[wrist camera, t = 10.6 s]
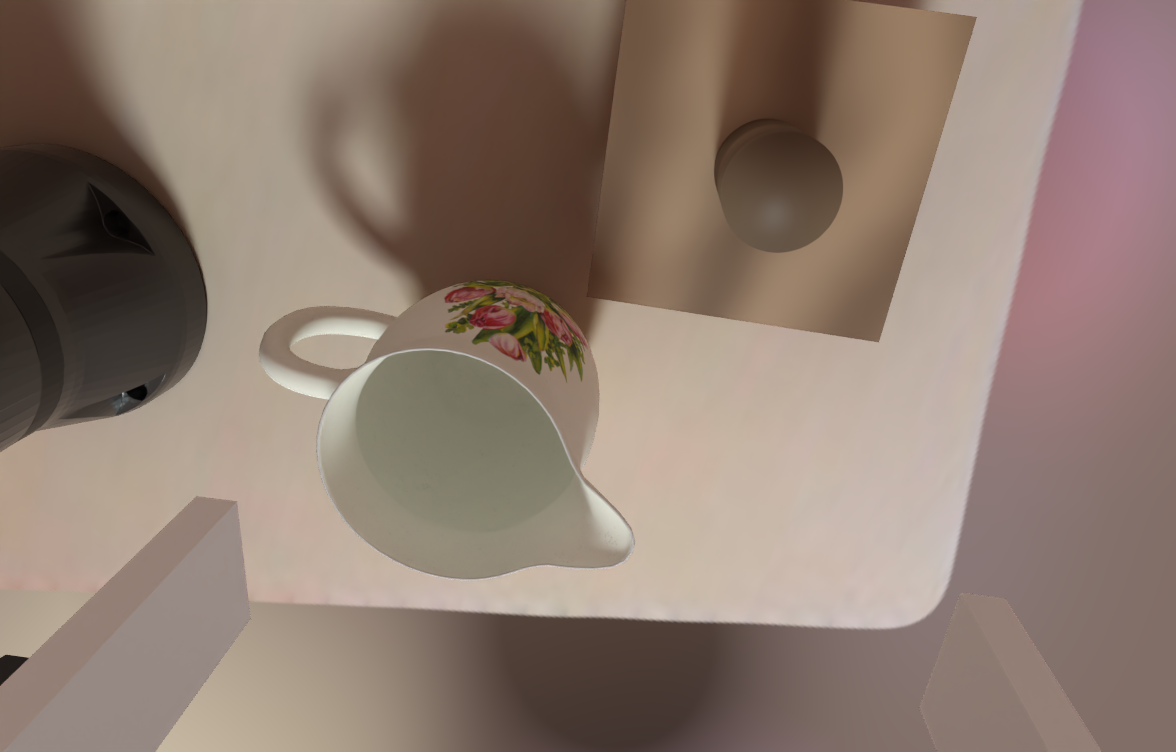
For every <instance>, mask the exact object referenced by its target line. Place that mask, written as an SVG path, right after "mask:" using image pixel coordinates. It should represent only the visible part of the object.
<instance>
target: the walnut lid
mask: <svg viewBox="0 0 1176 752" xmlns="http://www.w3.org/2000/svg"><path fill="white" fill-rule="evenodd" d="M976 18H977V17H972V16H965V15H957V14H950V13H942V12H935V11H927V10H920V9H912V8H905V7H897V6H890V5H882V4H875V3H867V2H860V1H852V0H626V4H625V12H624V19H623V27H622V34H621V42H620V50H619V57H618V65H617V72H616V80H615V87H614V95H613V102H612V110H611V118H610V125H609V133H608V140H607V148H606V155H605V163H604V171H603V178H602V186H601V193H600V201H599V208H598V216H597V224H596V231H595V239H594V246H593V254H592V261H591V269H590V277H589V284H588V292H587V297H593V298H599V299H606V300H612V301H618V302H625V303H631V304H638V305H644V306H650V307H657V308H663V309H670V310H676V311H682V312H689V313H695V314H702V315H708V316H714V317H721V318H727V319H734V320H740V321H746V322H753V323H759V324H766V325H772V326H778V327H785V328H791V329H798V330H804V331H810V332H817V333H823V334H830V335H836V336H842V337H849V338H855V339H862V340H868V341H874V342H879V340H880V336H881V333H882V330H883V326H884V323H885V320H886V316H887V313H888V310H889V307H890V303H891V300H892V297H893V293H894V290H895V287H896V283H897V280H898V277H899V273H900V270H901V267H902V263H903V260H904V257H905V253H906V250H907V247H908V244H909V240H910V237H911V234H912V230H913V227H914V224H915V220H916V217H917V214H918V210H919V207H920V204H921V200H922V197H923V194H924V190H925V187H926V184H927V181H928V177H929V174H930V171H931V167H932V164H933V161H934V157H935V154H936V151H937V147H938V144H939V141H940V137H941V134H942V131H943V127H944V124H945V121H946V118H947V114H948V111H949V108H950V104H951V101H952V98H953V94H954V91H955V88H956V84H957V81H958V78H959V74H960V71H961V68H962V64H963V61H964V58H965V54H966V51H967V48H968V45H969V41H970V38H971V35H972V31H973V28H974V25H975V21H976Z"/></svg>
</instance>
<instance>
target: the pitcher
mask: <svg viewBox="0 0 1176 752" xmlns="http://www.w3.org/2000/svg"><path fill="white" fill-rule="evenodd" d="M321 334H342V335H354V336H362V337H368V338H373V339H377V342H376V343H375V345H374V346H373V348H372V350H371V352H370V354H369V356H368V358H367V360H366V362H365V363H364V364H363V365H361V366H360V367H358V368H351V369H342V370H340V369H333V368H328V367H324V366H319V365H316V364H313V363H310V362H308V361H305V360H303V359H301V358H299V357H298V356H296V355H295V354H294V353H293V352H291V351H290V347H291V346H292V345H293V344H294V343H295V342H297V341H299V340H301V339H304V338H306V337H310V336H314V335H321ZM259 358H260V363H261V365H262V367H263V368H264V370H265V372H266V373H267V374H268V375H269V376H270V377H271V378H272V379H273V380H274V381H275V382H277V383H278V384H280V385H282V386H283V387H285V388H288V389H290V390H293V391H295V392H298V393H301V394H304V395H308V396H312V397H317V398H322V399H328V402H327V404H326V406H325V408H324V410H323V413H322V416H321V419H320V422H319V427H318V433H317V450H316V452H317V460H318V467H319V471H320V475H321V479H322V482H323V485H324V487H325V490H326V492H327V495H328V497H329V498H330V500H331V502H332V504H333V506H334V507H335V509H336V510H337V512H338V513H339V515H340V516H341V517H342V519H343V520H344V522H345V523H346V524H347V525H348V526H349V527H350V528H351V529H352V530H353V532H354V533H355V534H356V535H358V536H359V537H360V538H361V539H362V540H363V541H364V542H365V543H367V544H368V545H369V546H371V547H372V548H373V549H375V550H376V551H377V552H379V553H380V554H382V555H384V556H385V557H387V558H389V559H391V560H392V561H394V562H396V563H398V564H401V565H403V566H405V567H407V568H409V569H412V570H415V571H418V572H421V573H424V574H427V575H431V576H435V577H439V578H446V579H453V580H469V581H471V580H486V579H491V578H497V577H501V576H505V575H508V574H511V573H515V572H518V571H521V570H525V569H529V568H534V567H541V566H553V567H560V568H570V569H594V570H595V569H604V568H613V567H615V566H617V565H620V564H622V563H624V562H626V560H627V559H628V558H629V556H630V555H631V554H632V552H633V548H634V544H635V540H634V537H633V533H632V529H631V527H630V526H629V524H628V523H627V522H626V520H625V519H624V518H623V516H622V515H621V514H620V512H619V511H618V510H617V509H616V508H615V507H614V506H613V505H612V504H611V503H610V502H609V501H608V500H607V499H606V498H605V497H604V496H603V495H602V494H601V493H600V492H599V491H598V490H597V489H596V488H595V487H594V486H593V485H592V484H591V483H590V482H589V481H587V480H586V479H585V478H584V476H583V474H582V472H581V470H582V469H583V467H584V465H585V463H586V460H587V458H588V455H589V452H590V449H591V446H592V443H593V440H594V437H595V432H596V426H597V421H598V415H599V395H600V394H599V383H598V374H597V370H596V365H595V361H594V358H593V355H592V353H591V350H590V348H589V345H588V342H587V341H586V339H585V337H584V335H583V333H582V331H581V330H580V328H579V327H578V326H577V324H576V323H575V322H574V320H573V319H572V318H571V316H570V315H569V314H568V313H567V312H566V311H565V310H564V309H563V308H562V307H561V306H559V305H558V304H557V303H556V302H555V301H553V300H552V299H550V298H549V297H547V296H546V295H544V294H543V293H540V292H538V291H536V290H534V289H532V288H530V287H527V286H524V285H521V284H517V283H512V282H507V281H497V280H481V281H471V282H466V283H461V284H456V285H453V286H450V287H447V288H444V289H442V290H439V291H437V292H435V293H433V294H431V295H429V296H427V297H425V298H423V299H422V300H420V301H418V302H417V303H415V304H414V305H413V306H411V307H410V308H408V309H407V310H406V311H404V312H403V313H402V314H401V315H400V316H399V317H398V318H397V317H394V316H390V315H386V314H383V313H378V312H374V311H370V310H364V309H358V308H349V307H336V306H320V307H309V308H305V309H301V310H297V311H294V312H292V313H290V314H288V315H285V316H284V317H282V318H281V319H279V320H278V321H277V322H275V323H274V324H273V325H271V326H270V327H269V329H268V330H267V331H266V332H265V333H264V336H263V339H262V342H261V345H260V349H259Z"/></svg>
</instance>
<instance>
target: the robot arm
mask: <svg viewBox="0 0 1176 752" xmlns="http://www.w3.org/2000/svg"><path fill="white" fill-rule="evenodd" d="M205 327H206V299H205V292H204V286H203V282H202V278H201V274H200V271H199V268H198V265H197V263H196V260H195V258H194V255H193V253H192V251H191V249H190V247H189V245H188V243H187V241H186V239H185V237H184V236H183V234H182V232H181V231H180V229H179V228H178V226H177V225H176V223H175V222H174V220H173V219H172V218H171V216H170V215H169V214H168V213H167V211H166V210H165V209H164V208H163V207H162V205H161V204H160V203H159V202H158V201H157V200H156V199H155V198H154V197H153V196H152V195H151V194H150V193H149V192H148V191H147V190H146V189H145V188H144V187H142V186H141V185H140V184H139V183H138V182H136V181H135V180H134V179H133V178H131V177H130V176H129V175H127V174H126V173H124V172H123V171H121V170H120V169H118V168H116V167H115V166H113V165H111V164H110V163H108V162H106V161H104V160H102V159H100V158H98V157H95V156H93V155H91V154H88V153H85V152H83V151H80V150H76V149H73V148H69V147H64V146H59V145H52V144H26V145H19V146H11V147H4V148H0V452H1V451H3V450H4V449H6V448H7V447H9V446H10V445H12V444H14V443H16V442H17V441H19V440H21V439H23V438H24V437H26V436H28V435H30V434H31V433H33V432H35V431H39V430H45V429H50V428H55V427H61V426H66V425H72V424H77V423H82V422H88V421H93V420H98V419H104V418H109V417H114V416H118V415H121V414H125V413H128V412H130V411H133V410H135V409H137V408H139V407H141V406H143V405H145V404H147V403H148V402H150V401H152V400H153V399H155V398H156V397H158V396H159V395H161V394H162V393H164V392H166V391H167V390H169V389H170V388H171V387H173V386H174V385H175V384H177V383H178V382H179V381H180V380H181V379H182V378H183V377H184V376H185V375H186V373H187V372H188V371H189V370H190V368H191V366H192V365H193V363H194V362H195V360H196V358H197V356H198V353H199V351H200V349H201V345H202V342H203V338H204V334H205ZM249 620H250V610H249V601H248V592H247V584H246V575H245V567H244V558H243V549H242V541H241V532H240V523H239V515H238V506H237V501H230V500H222V499H214V498H206V497H198V496H196V497H195V498H194V499H193V500H192V501H191V502H190V503H189V504H188V505H187V506H186V507H185V508H184V509H183V510H182V511H181V512H180V513H179V514H178V515H177V516H176V517H175V518H174V519H173V520H171V521H170V522H169V523H168V524H167V525H166V526H165V527H164V528H163V529H162V530H161V531H160V532H159V533H158V534H157V535H156V536H155V537H154V538H153V539H152V540H151V541H150V542H149V543H148V544H147V545H146V546H145V547H144V548H143V549H141V550H140V551H139V552H138V553H137V554H136V555H135V556H134V557H133V558H132V559H131V560H130V561H129V562H128V563H127V564H126V565H125V566H124V567H123V568H122V569H121V570H120V571H119V572H118V573H117V574H116V575H115V576H114V577H112V578H111V579H110V580H109V581H108V582H107V583H106V584H105V585H104V586H103V587H102V588H101V589H100V590H99V591H98V592H97V593H96V594H95V595H94V596H93V597H92V598H91V599H90V600H89V601H88V602H87V603H86V604H85V605H84V606H83V607H81V609H79V610H78V611H77V612H76V614H74V615H73V616H72V617H71V618H70V619H69V620H68V621H67V622H66V623H65V624H64V625H63V626H62V627H61V628H60V629H59V630H58V631H57V632H56V633H55V634H54V635H53V636H52V637H50V638H49V639H48V641H46V642H45V643H44V644H43V645H42V646H41V647H40V648H39V649H38V650H37V651H36V652H35V653H34V654H33V655H32V656H31V657H30V658H26V657H18V656H11V655H5V656H3V657H1V658H0V752H155V751H156V750H157V749H158V747H159V745H160V744H161V743H162V742H163V740H164V739H165V737H166V736H167V735H168V733H169V732H170V730H171V729H172V728H173V726H174V725H175V723H176V722H177V721H178V719H179V718H180V716H181V715H182V714H183V712H184V711H185V709H186V708H187V707H188V705H189V704H190V703H191V701H192V700H193V698H194V697H195V696H196V694H197V693H198V691H199V690H200V688H201V687H202V686H203V684H204V683H205V682H206V680H207V679H208V677H209V676H210V675H211V673H212V672H213V670H214V669H215V668H216V666H217V665H218V663H219V662H220V661H221V659H222V658H223V656H224V655H225V654H226V652H227V651H228V650H229V648H230V647H231V645H232V644H233V643H234V641H235V640H236V638H237V637H238V635H239V634H240V633H241V631H242V630H243V628H244V627H245V626H246V624H247V623H248V622H249ZM919 708H920V710H921V713H922V716H923V718H924V721H925V723H926V726H927V728H928V731H929V733H930V736H931V738H932V741H933V743H934V746H935V749H936V751H937V752H1102V751H1101V750H1100V748H1099V747H1098V745H1097V743H1096V742H1095V740H1094V739H1093V737H1092V736H1091V734H1090V732H1089V731H1088V729H1087V728H1086V726H1085V724H1084V723H1083V721H1082V720H1081V718H1080V717H1079V715H1078V713H1077V712H1076V710H1075V709H1074V707H1073V705H1072V704H1071V702H1070V701H1069V699H1068V698H1067V696H1066V694H1065V693H1064V691H1063V690H1062V688H1061V686H1060V685H1059V683H1058V682H1057V680H1056V678H1055V677H1054V675H1053V674H1052V672H1051V671H1050V669H1049V667H1048V666H1047V664H1046V663H1045V661H1044V660H1043V658H1042V656H1041V655H1040V653H1039V652H1038V650H1037V648H1036V647H1035V645H1034V644H1033V642H1032V641H1031V639H1030V637H1029V636H1028V635H1027V633H1026V631H1025V629H1024V628H1023V626H1022V625H1021V623H1020V621H1019V620H1018V618H1017V617H1016V615H1015V614H1014V612H1013V610H1012V609H1011V607H1010V606H1009V604H1008V602H1007V601H1006V599H1004V598H997V597H989V596H981V595H974V594H966V593H961V594H960V597H959V599H958V602H957V605H956V608H955V610H954V613H953V616H952V619H951V621H950V624H949V627H948V630H947V632H946V635H945V638H944V641H943V644H942V646H941V649H940V652H939V655H938V657H937V660H936V663H935V666H934V668H933V671H932V674H931V677H930V680H929V682H928V685H927V688H926V691H925V693H924V696H923V699H922V702H921V705H920V707H919Z"/></svg>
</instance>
